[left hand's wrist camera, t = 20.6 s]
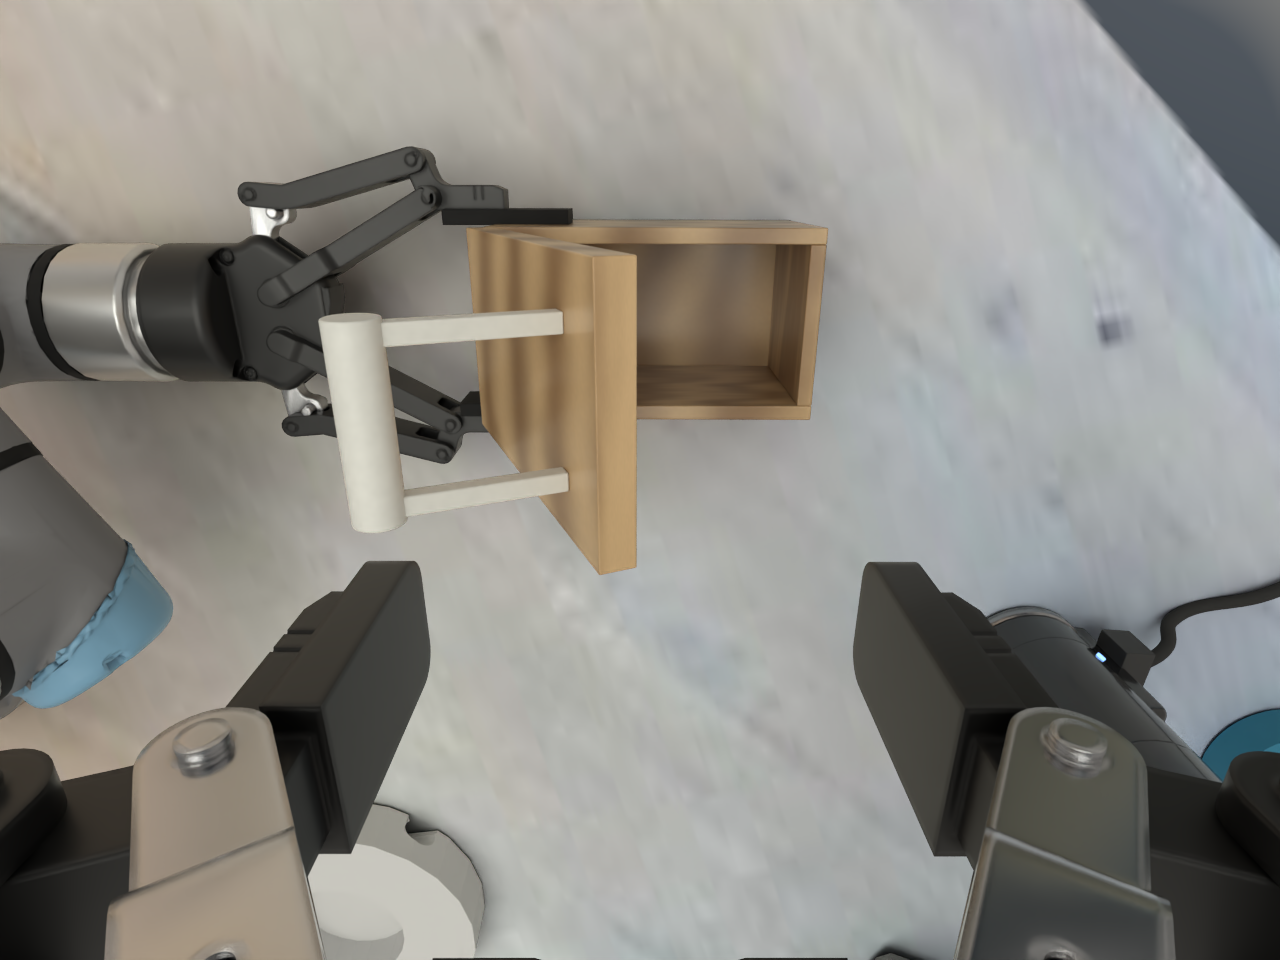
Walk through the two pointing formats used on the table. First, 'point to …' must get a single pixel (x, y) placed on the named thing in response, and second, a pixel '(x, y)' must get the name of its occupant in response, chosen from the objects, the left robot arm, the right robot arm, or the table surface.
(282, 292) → the right robot arm
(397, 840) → the ashtray
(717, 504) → the table surface
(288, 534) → the table surface
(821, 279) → the chest
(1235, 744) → the camera mount
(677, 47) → the table surface
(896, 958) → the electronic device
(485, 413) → the lid
